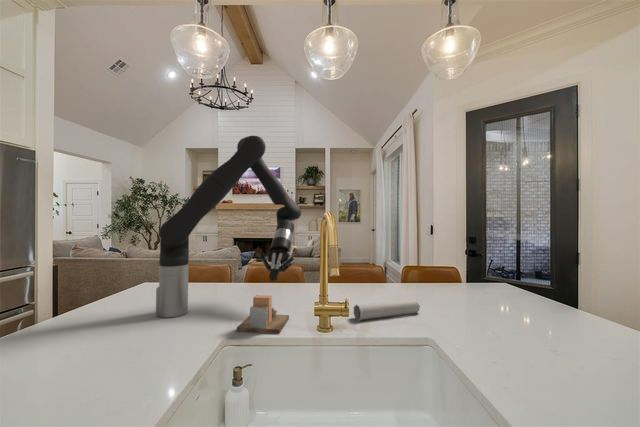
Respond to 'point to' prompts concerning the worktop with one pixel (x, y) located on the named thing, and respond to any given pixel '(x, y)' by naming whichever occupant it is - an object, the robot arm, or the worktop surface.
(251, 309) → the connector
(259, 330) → the brown wooden board
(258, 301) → the orange tall block
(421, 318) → the worktop surface
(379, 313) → the tube
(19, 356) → the worktop surface
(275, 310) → the cable comb
